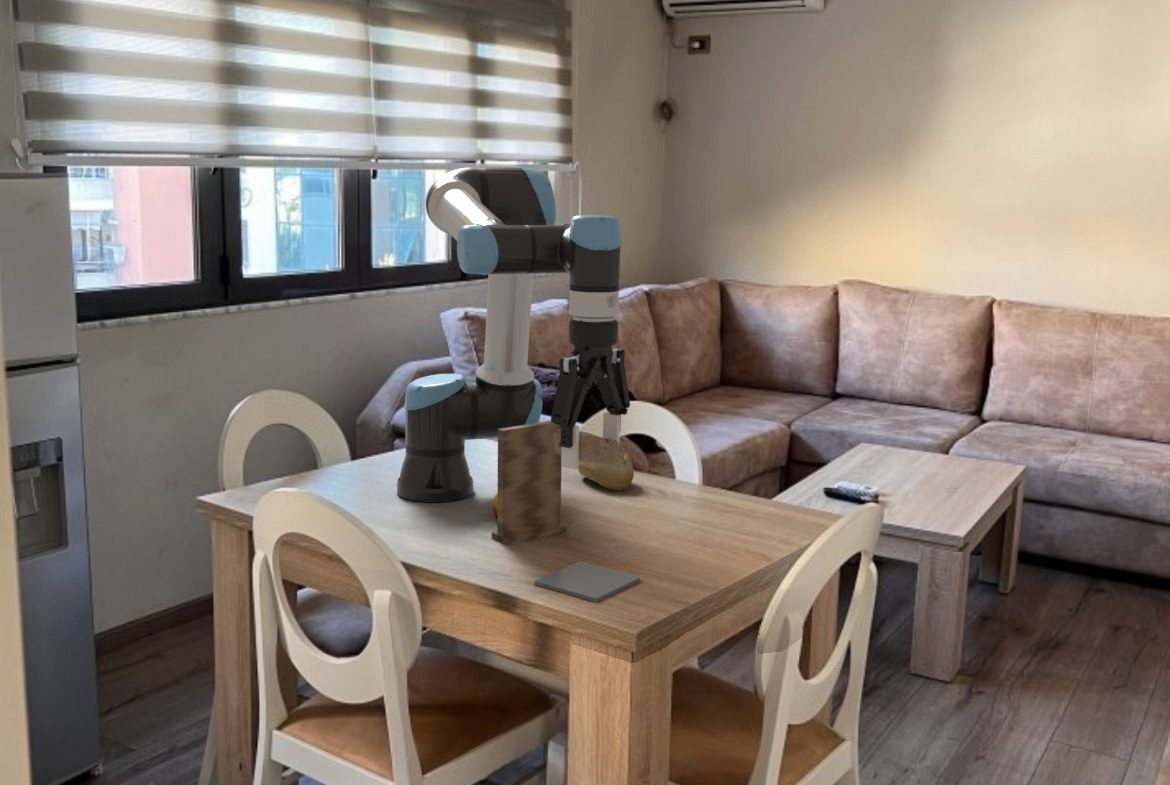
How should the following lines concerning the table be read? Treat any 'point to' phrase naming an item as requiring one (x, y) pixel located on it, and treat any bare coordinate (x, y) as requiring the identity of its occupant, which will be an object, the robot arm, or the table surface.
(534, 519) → the board
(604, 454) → the stone
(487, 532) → the table surface
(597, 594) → the pad
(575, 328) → the robot arm
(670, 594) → the table surface
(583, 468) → the bread roll
